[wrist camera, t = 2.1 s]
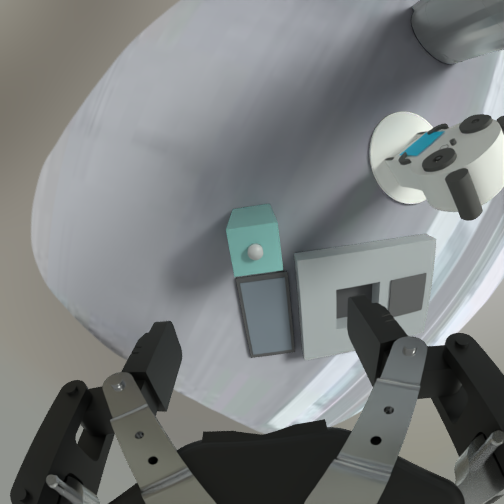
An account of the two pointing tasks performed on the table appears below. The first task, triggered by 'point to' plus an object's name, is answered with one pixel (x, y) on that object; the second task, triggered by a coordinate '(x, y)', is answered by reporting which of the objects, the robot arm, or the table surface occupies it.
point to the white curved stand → (439, 161)
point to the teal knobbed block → (254, 240)
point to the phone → (267, 313)
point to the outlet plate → (362, 288)
